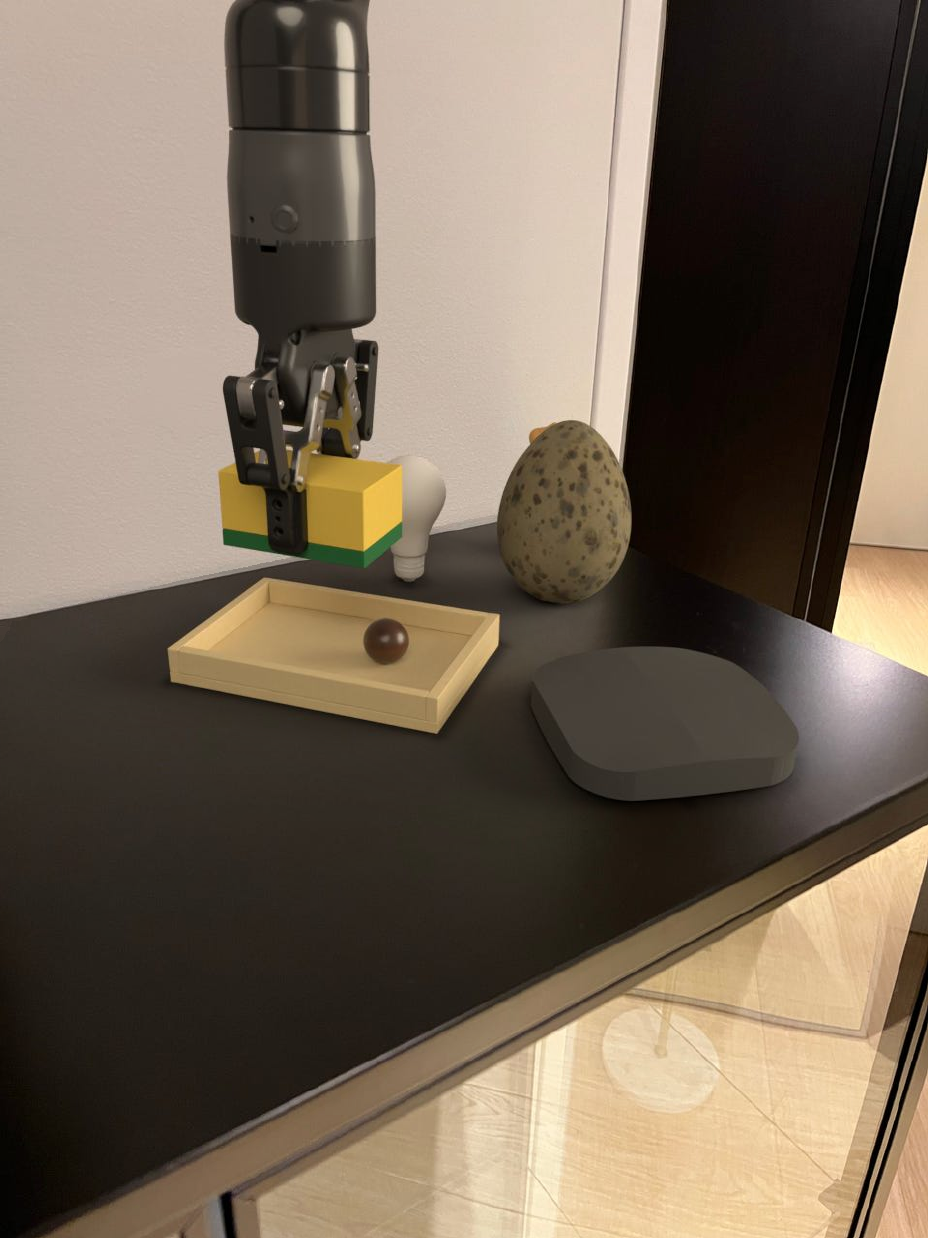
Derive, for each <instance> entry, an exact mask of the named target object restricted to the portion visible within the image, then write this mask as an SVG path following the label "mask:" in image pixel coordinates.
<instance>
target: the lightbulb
mask: <svg viewBox="0 0 928 1238" xmlns="http://www.w3.org/2000/svg"><path fill="white" fill-rule="evenodd" d="M386 463H389V464H396V465H402V538H400V539H399V540H398V541H397V542H396V543H394V544H393V545H392V546H391V547H390V552H391V553H392V554H393V569H394V574H395V575H396V577H398V578H400V579H402V580H403V581H404V582H406V583H408V582H409V583H412V582H415V581H416V579H418V578H421V577H422V576H423V575H424V572H425V562H426V561H425V559H426V554H427V552H428V550H429V549H428V548H429V541H430V539H429V538H430V535H431V531H432V529H433V526H434V524H435V523H436V521H437V519H438V518H439V516H440V514H441V512H442V510H443V508H444V505H445V502H446V497H447V488H446V482H445V479H444V477H443V475H442V473H441V472H440V470H439V469H438V468H437V467H436V466H435V464H434V463H432V462H431V461H430V460H428V459H426V458H424V457H423V456H418V455H412V454H411V455H410V454H406V455H399V456H396V457H394V458H392V459H390V460H388V461H386Z"/></svg>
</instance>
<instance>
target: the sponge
mask: <svg viewBox="0 0 928 1238" xmlns="http://www.w3.org/2000/svg"><path fill="white" fill-rule="evenodd" d="M286 451H287V458H288V465H289V468H290V465H291V458H292V452H293V449H286ZM259 452H260V450H258V451H256V452H254V453H255V460H256V463H258V459H259ZM217 472H218V486H219V498H220V499H219V500H220V512H221V514H220V515H221V527H222V542H223V546H226V547H227V546H228V547H233V548H240V549H245V550H250V551H251V550H252V551H257V552H264V553H269V554H275V555H282V556H288V557H293V558H300V559H304V560H311V561H316V562H323V563H328V564H335V565H339V566H345V567H346V566H347V567H351V568H358V569H362V570H363V569H366V568H367V567H369V565H371V564H372V563H373V562H374V561H375V560H377V558H379V557H380V556H382V554H384V553H385V552H386V551H388V549H391V546H392V545H393V544H394V543H396V542H397V541H398V540H399V539H400V538H402V465H396V464H389V463H387V462H381V461H374V460H365V459H359V458H357V459H352V458H345V457H337V456H330V455H322V454H318V453H316V452H315V453H314V452H311V454H310V459H309V466H308V472H307V479H306V485H305V488H304V489H305V490H306V492H307V519H308V542H309V544H308V548H307V550H305V551H304V552H302V553H301V554H299V555H293V554H288V553H282V552H276V551H274V550H272V549H271V548H270V546H269V543H268V531H267V528H268V527H267V512H266V495H265V491H264V489H263V488H262V487H260V486H253V485H251V486H250V485H243V484H241V483H240V482H239V479H238V474H237V468H236V463H235V462H233V463H232V464H229V465H227V466H225V467H223V468H220V469H219V470H218V471H217Z"/></svg>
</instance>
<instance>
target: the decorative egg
mask: <svg viewBox="0 0 928 1238" xmlns="http://www.w3.org/2000/svg"><path fill="white" fill-rule="evenodd" d="M497 512H498V513H497V518H496V519H497V520H496V537H497V546H498V549H499V550H498V551H499V553H500V556H501V560H502V562H503V564H504V566H505V568H506V571H507V572H508V573H509V575H510V576H511V578H512V579H513V580H514V582H516V583H517V585H518V586H519V587H520V588H522V590H524V591H525V592H527V593H528V594H529V595H531V596H532V597H534V598H536V599H538V600H540V601H544V602H550V603H554V604H557V605H561V604H562V605H563V604H573V603H578V602H580V601H583V600H585V599H588V598H590V597H591V596H594V594H596V593H598V592H599V591H600V590H602V589H603V588H604V587H605V586H606V585H607V584H608V583H609V582H610V581H611V580H612V579H613V578H614V576H615V575H616V573H617V572H618V571H619V569H620V567H621V565H622V563H623V561H624V560H625V557H626V554H627V551H628V548H629V544H630V540H631V533H632V505H631V498H630V492H629V488H628V485H627V481H626V477H625V474H624V471H623V469H622V467H621V464H620V462H619V460H618V458H617V456H616V455H615V453H614V451H613V449H612V448H611V445H609V443H608V442H607V441H606V439H605V438H604V437H603V436H602V435H601V434H600V433H599V432H598V431H597V430H596V429H595V428H593V427H592V426H591V425H589V424H587V423H586V422H583V421H580V420H575V419H567V420H562V421H559V422H556V424H554V425H552V426H550V427H549V428H547V429H546V430H545V431H543V432H542V433H541V434H540V435H539V436H538V437H537V438H536V439H535V440H534V441H533V442H532V443H531V444H530V443H529V445H528V446H527V447H526V448H525V450H524V451H523V452H522V453H521V455H520V457H518V459H517V461H516V463H515V464H514V466H513V468H512V470H511V472H510V473H509V476H508V478H507V480H506V483H505V486H504V488H503V491H502V494H501V497H500V501H499V505H498V510H497Z"/></svg>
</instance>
